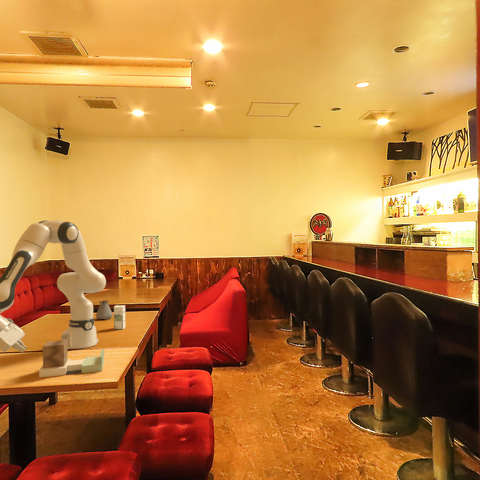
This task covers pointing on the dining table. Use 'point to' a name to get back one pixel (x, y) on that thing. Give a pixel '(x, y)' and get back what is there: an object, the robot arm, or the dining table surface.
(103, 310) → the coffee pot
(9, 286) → the robot arm
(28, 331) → the dining table surface
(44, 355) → the walnut block
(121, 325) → the syrup box
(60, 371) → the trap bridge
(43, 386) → the dining table surface
